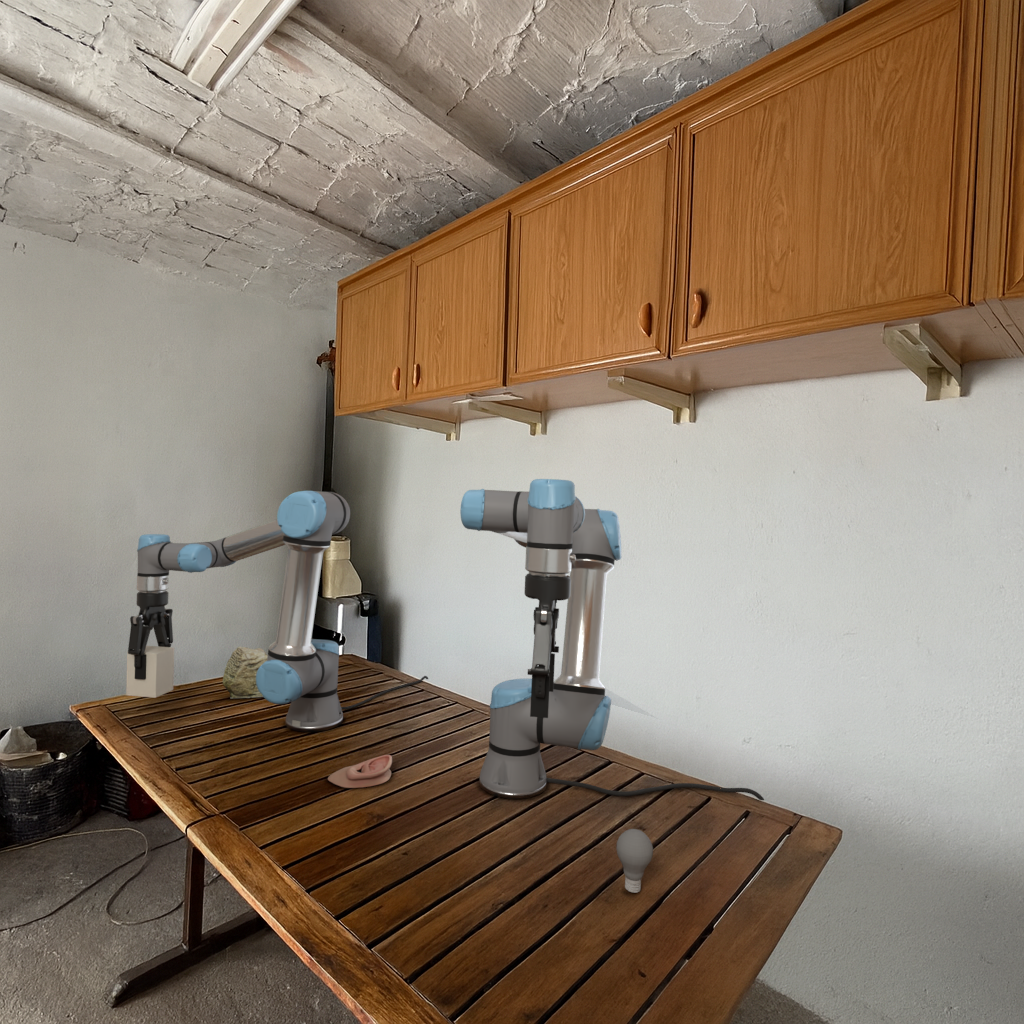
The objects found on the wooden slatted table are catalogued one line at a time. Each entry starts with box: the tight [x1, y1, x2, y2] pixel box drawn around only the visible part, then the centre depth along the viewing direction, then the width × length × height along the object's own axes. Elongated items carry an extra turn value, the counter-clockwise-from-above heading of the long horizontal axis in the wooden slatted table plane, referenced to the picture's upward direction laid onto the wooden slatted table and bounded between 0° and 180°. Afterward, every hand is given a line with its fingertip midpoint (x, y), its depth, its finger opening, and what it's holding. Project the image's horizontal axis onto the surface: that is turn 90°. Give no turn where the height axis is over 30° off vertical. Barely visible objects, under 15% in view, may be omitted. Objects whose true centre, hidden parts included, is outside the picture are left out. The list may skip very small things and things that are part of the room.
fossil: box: [222, 646, 268, 699], centre depth 198 cm, size 9×18×15 cm, turn 132°
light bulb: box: [615, 828, 654, 894], centre depth 106 cm, size 6×6×10 cm
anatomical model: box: [327, 754, 393, 789], centre depth 143 cm, size 13×4×12 cm
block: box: [125, 645, 175, 699], centre depth 172 cm, size 9×7×12 cm
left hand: (150, 674), depth 172 cm, fingers closed on block, 7 cm apart
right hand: (542, 703), depth 104 cm, fingers open, 13 cm apart
